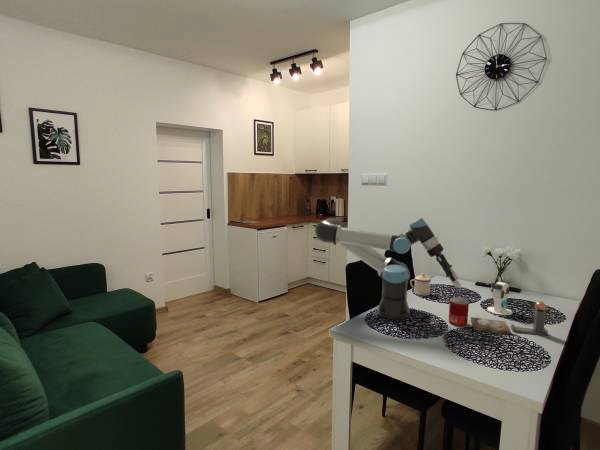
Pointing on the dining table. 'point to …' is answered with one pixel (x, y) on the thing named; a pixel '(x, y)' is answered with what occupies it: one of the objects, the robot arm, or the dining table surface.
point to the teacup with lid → (421, 285)
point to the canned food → (458, 311)
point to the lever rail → (528, 330)
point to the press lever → (539, 317)
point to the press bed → (489, 325)
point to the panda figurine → (500, 298)
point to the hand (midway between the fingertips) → (457, 283)
